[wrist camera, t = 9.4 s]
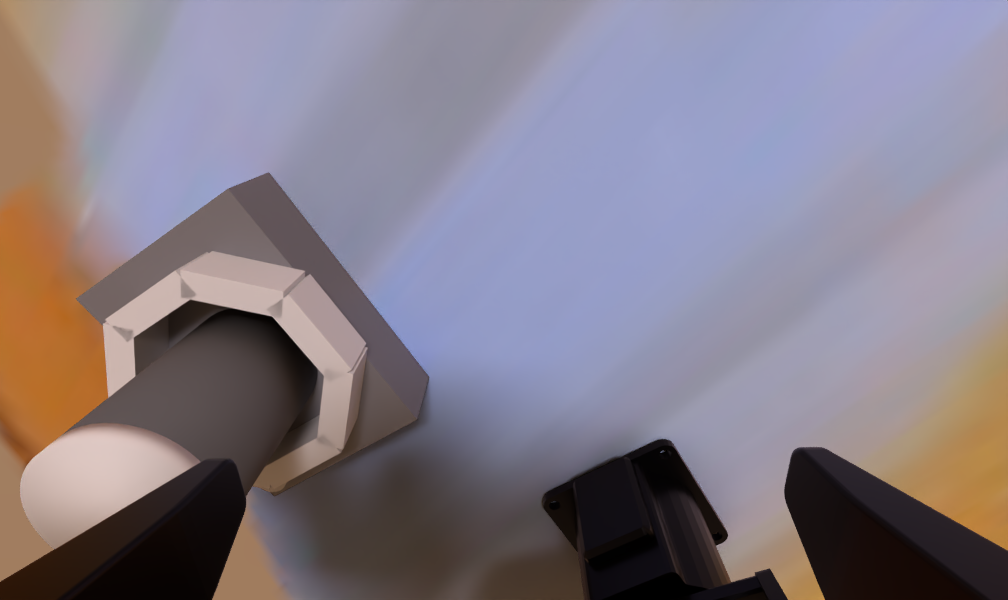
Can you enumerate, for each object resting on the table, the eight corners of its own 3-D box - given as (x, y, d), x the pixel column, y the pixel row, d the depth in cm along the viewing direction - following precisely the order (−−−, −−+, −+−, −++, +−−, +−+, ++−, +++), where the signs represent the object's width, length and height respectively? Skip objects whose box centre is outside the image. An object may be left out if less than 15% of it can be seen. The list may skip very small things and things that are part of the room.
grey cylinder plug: (303, 305, 18) (183, 437, 12) (327, 414, 20) (233, 582, 13) (176, 309, 18) (-13, 441, 12) (210, 417, 20) (62, 584, 13)
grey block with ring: (436, 373, 22) (416, 446, 18) (296, 451, 24) (246, 535, 20) (276, 167, 19) (205, 195, 15) (127, 273, 21) (24, 327, 16)
